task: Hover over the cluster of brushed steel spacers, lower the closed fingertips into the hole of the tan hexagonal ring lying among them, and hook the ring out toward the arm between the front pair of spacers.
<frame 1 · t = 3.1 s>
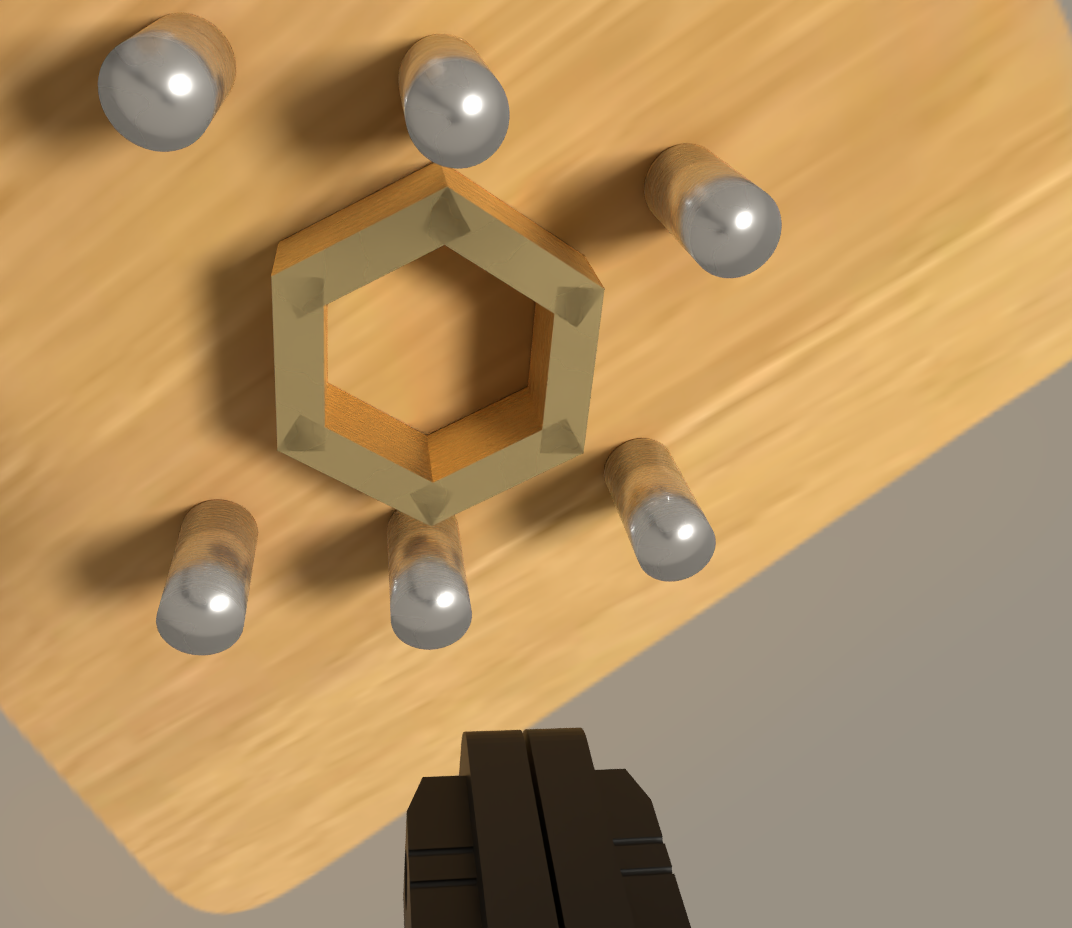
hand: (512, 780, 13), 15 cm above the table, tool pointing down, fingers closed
tan hexagonal ring: (431, 330, 26), on the table
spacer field: (431, 330, 26), on the table
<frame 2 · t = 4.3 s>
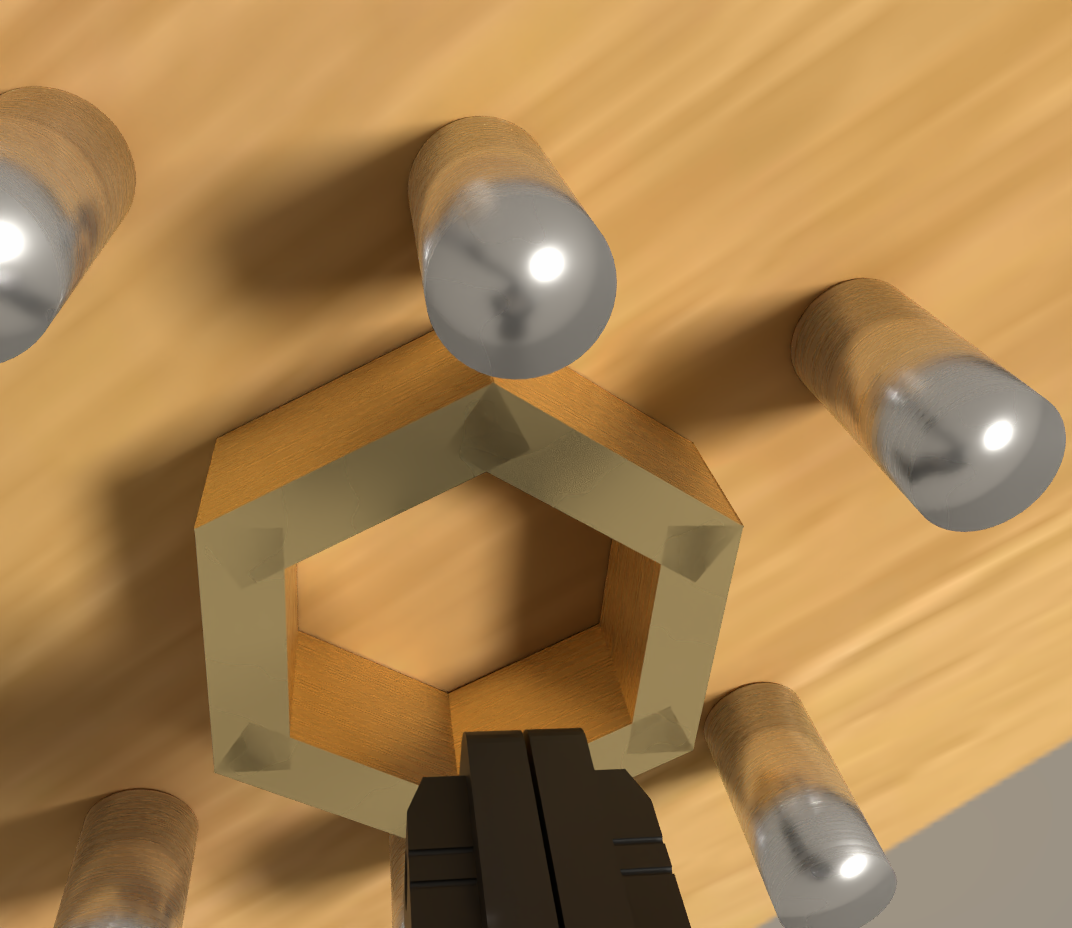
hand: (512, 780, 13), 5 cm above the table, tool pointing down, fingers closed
tan hexagonal ring: (457, 554, 17), on the table
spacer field: (457, 554, 17), on the table
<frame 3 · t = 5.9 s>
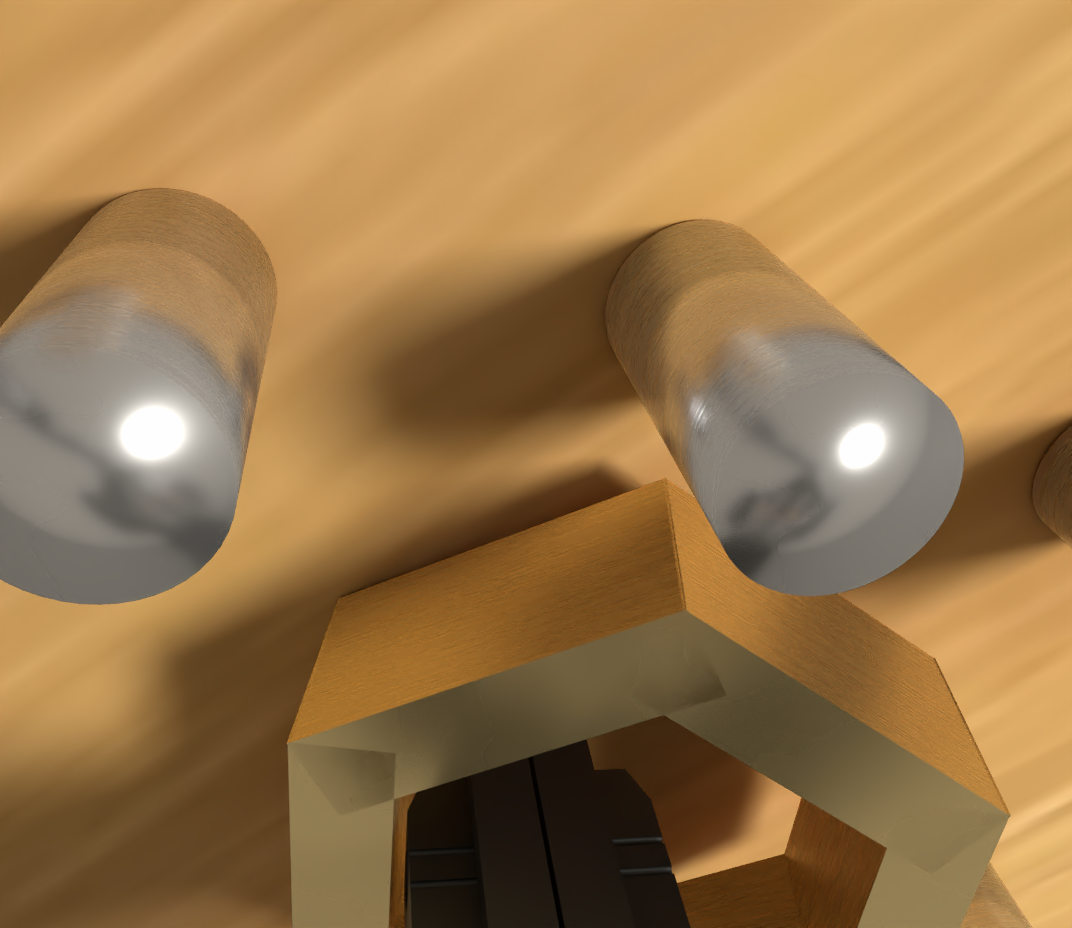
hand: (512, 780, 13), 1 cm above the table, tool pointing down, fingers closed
tan hexagonal ring: (614, 756, 14), point 1 cm above the table, tilted 11°, touching gripper
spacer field: (620, 717, 14), on the table
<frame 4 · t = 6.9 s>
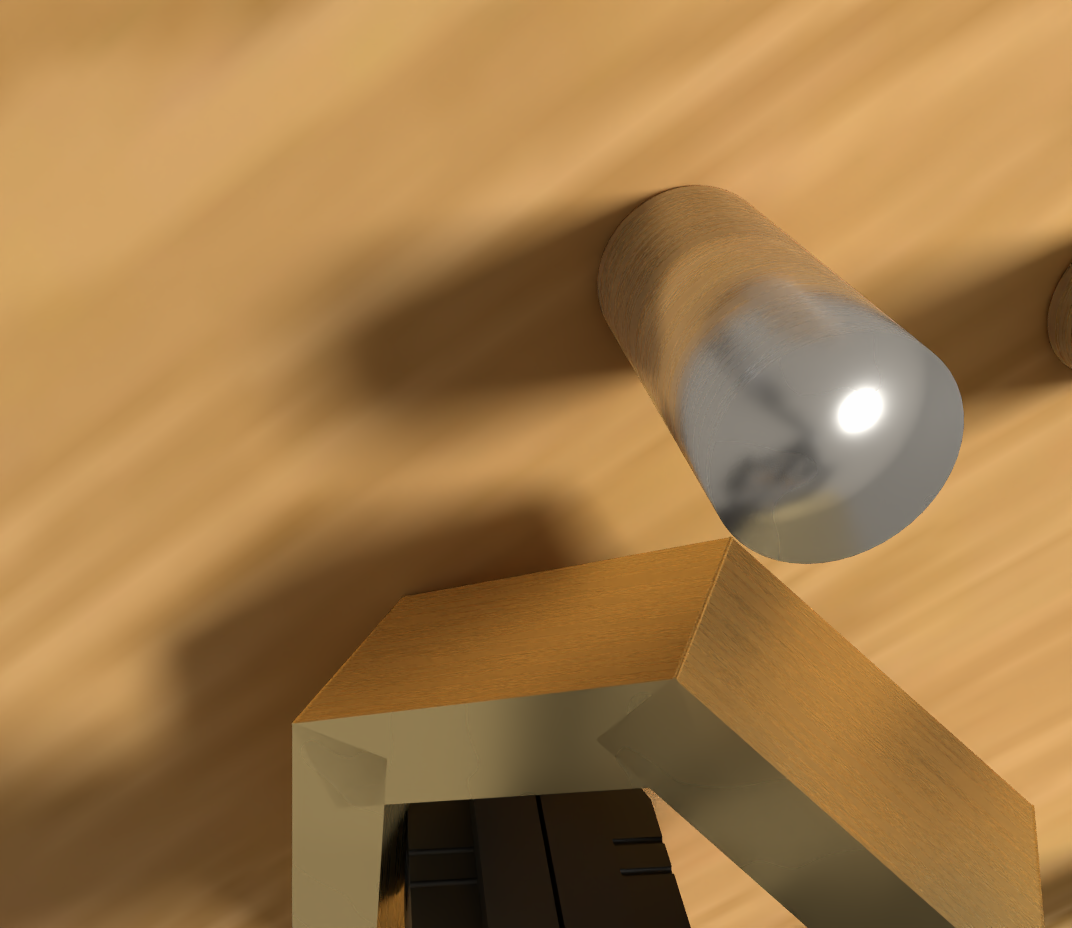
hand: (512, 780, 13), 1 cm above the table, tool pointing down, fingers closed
tan hexagonal ring: (660, 823, 13), point 2 cm above the table, tilted 30°, touching gripper
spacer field: (971, 684, 15), on the table
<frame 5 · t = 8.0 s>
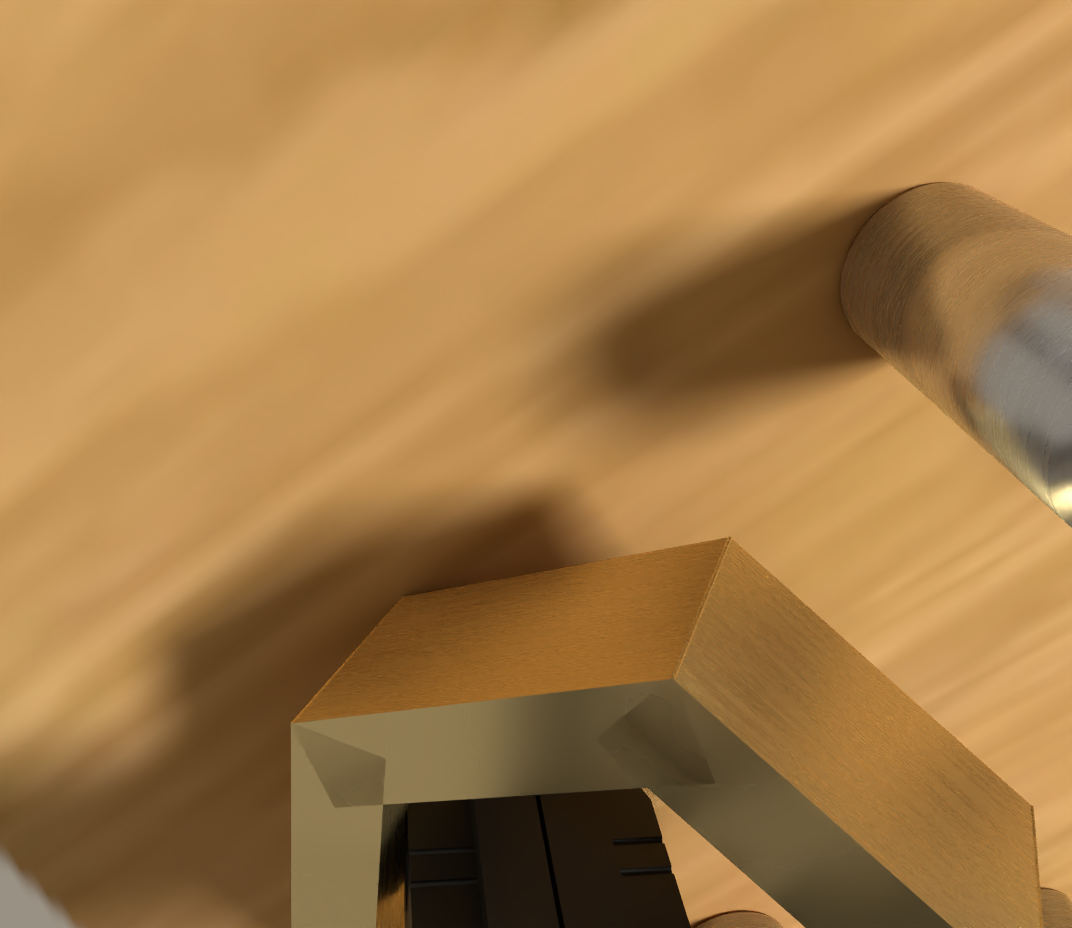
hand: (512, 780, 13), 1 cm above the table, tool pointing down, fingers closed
tan hexagonal ring: (659, 823, 13), point 2 cm above the table, tilted 30°, touching gripper
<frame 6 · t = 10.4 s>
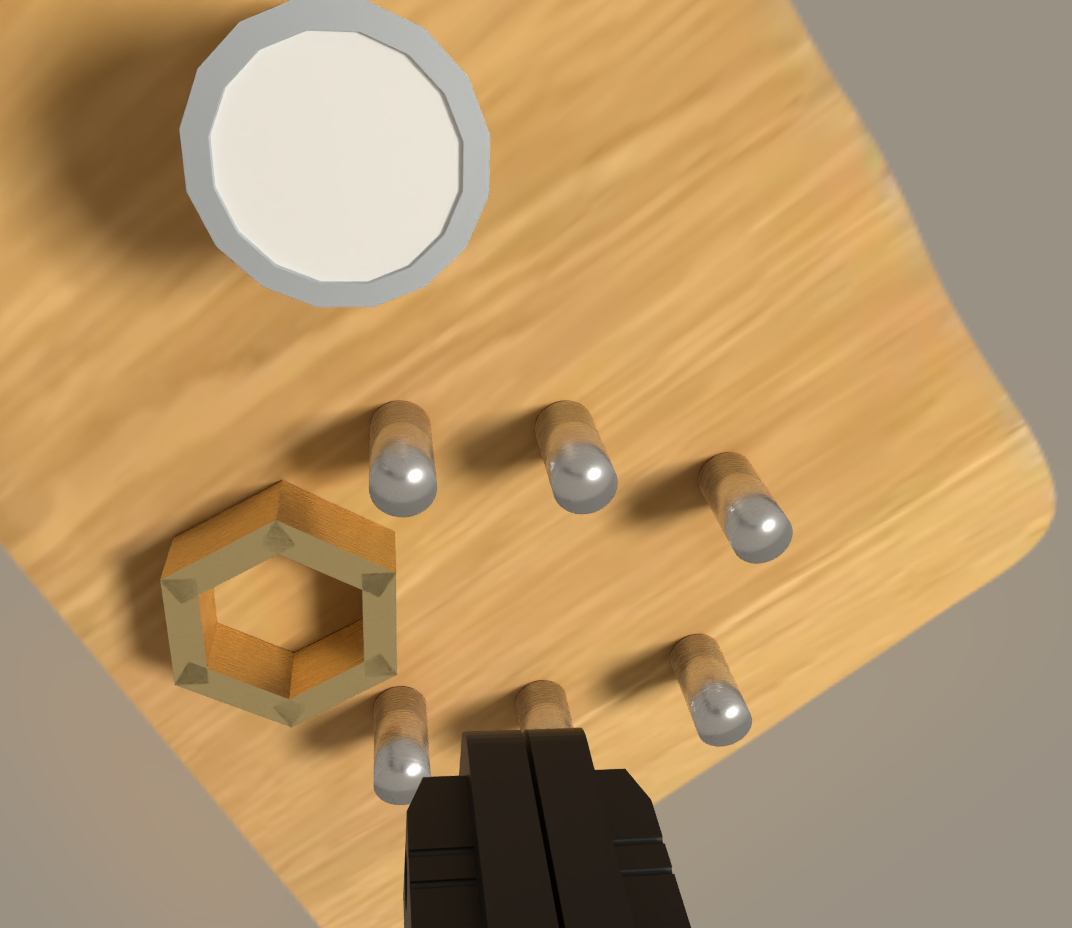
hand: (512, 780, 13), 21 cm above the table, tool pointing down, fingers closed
white cup: (347, 109, 29), on the table
tan hexagonal ring: (289, 586, 36), on the table
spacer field: (551, 574, 37), on the table
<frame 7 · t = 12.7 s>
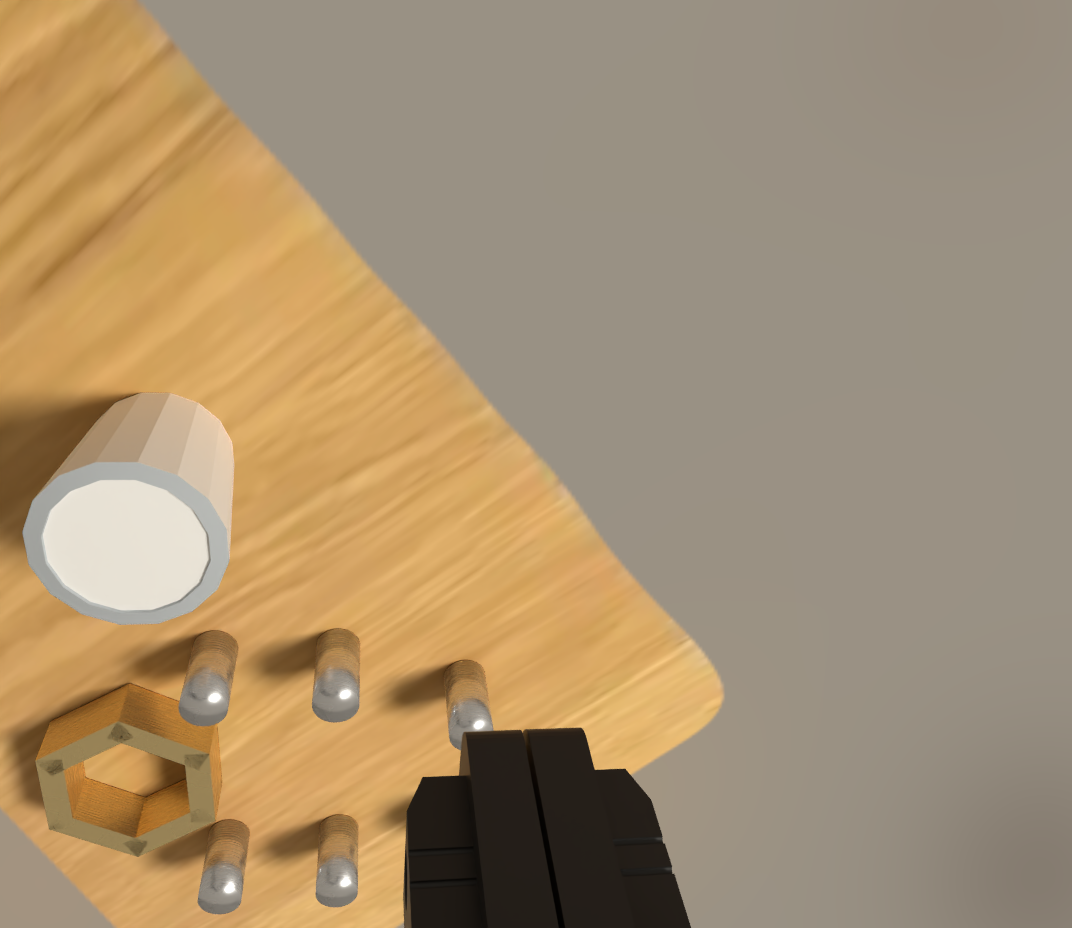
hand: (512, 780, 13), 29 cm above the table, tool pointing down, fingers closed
white cup: (164, 452, 42), on the table
tan hexagonal ring: (139, 752, 49), on the table
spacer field: (338, 742, 50), on the table
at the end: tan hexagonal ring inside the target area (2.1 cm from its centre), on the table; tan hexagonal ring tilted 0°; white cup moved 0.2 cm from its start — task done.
